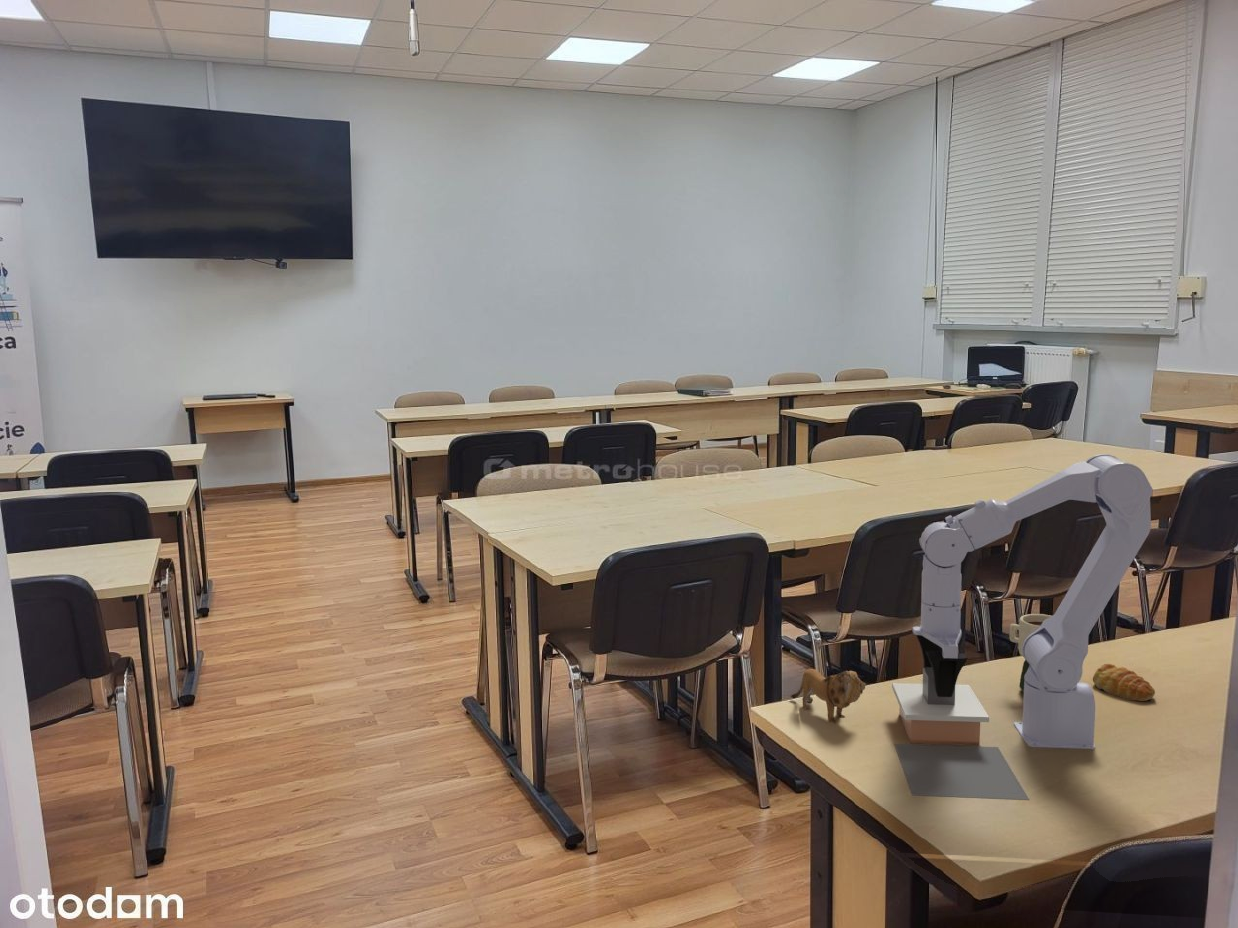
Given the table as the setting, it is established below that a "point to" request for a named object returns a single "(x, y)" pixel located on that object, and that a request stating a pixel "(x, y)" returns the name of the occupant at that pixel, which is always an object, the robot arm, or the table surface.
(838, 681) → the lion figurine
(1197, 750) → the table surface
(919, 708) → the lid
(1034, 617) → the character mug
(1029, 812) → the table surface
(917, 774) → the mat
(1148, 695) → the pastry
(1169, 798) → the table surface
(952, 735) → the dish
